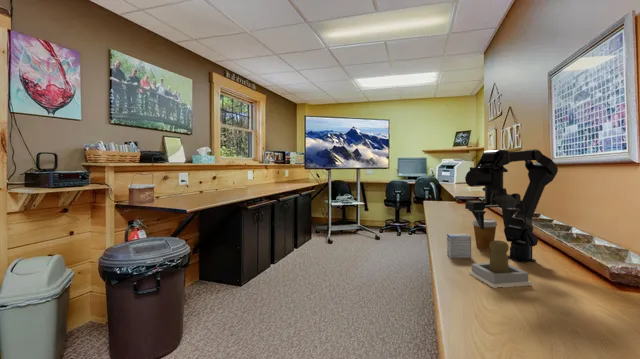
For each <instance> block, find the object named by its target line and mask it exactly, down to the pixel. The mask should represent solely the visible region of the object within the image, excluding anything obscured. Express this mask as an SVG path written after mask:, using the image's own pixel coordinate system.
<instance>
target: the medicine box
mask: <svg viewBox="0 0 640 359" xmlns="http://www.w3.org/2000/svg"><path fill="white" fill-rule="evenodd" d="M446 254H447V255H446V256H448V257H449V258H450V259H471V258H472V236H471V235H469V234H468V233H447V234H446Z"/></svg>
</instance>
